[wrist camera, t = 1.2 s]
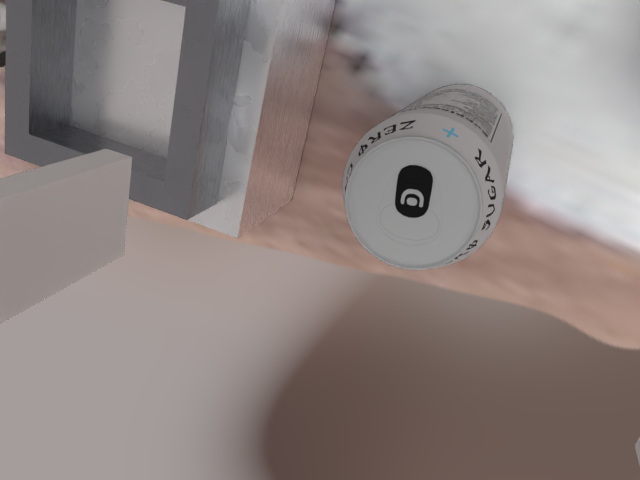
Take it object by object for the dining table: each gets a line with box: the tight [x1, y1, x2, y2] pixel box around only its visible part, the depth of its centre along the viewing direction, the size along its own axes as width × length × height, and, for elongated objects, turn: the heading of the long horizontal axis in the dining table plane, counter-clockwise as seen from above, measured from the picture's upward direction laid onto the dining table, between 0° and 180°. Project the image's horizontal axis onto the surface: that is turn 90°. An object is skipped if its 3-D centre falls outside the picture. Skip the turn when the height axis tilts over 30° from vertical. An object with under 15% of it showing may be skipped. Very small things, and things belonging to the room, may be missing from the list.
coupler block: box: [5, 0, 336, 238], centre depth 32 cm, size 14×14×11 cm
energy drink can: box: [343, 84, 513, 270], centre depth 27 cm, size 6×6×15 cm
